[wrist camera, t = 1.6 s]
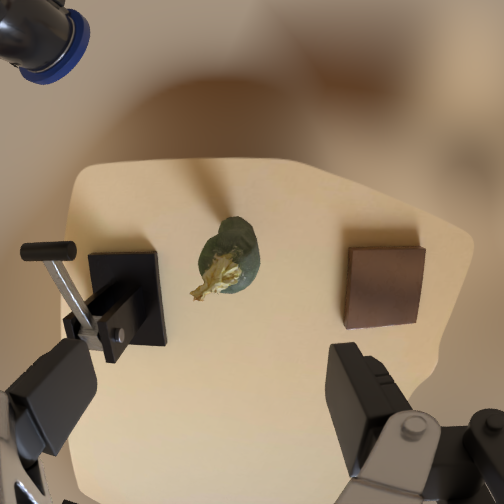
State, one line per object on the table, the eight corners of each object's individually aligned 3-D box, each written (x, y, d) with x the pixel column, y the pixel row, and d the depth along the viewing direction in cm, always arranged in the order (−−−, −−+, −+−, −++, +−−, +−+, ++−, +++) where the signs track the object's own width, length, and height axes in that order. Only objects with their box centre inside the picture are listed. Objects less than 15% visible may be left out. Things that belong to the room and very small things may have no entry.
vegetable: (257, 213, 36) (266, 253, 16) (256, 251, 37) (263, 331, 17) (217, 212, 36) (179, 252, 16) (217, 250, 37) (183, 329, 17)
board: (348, 247, 37) (352, 250, 35) (420, 246, 37) (426, 248, 35) (343, 324, 39) (346, 329, 37) (411, 318, 39) (416, 323, 37)
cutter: (91, 252, 37) (39, 280, 25) (157, 251, 37) (119, 281, 25) (106, 338, 39) (67, 386, 28) (167, 342, 39) (141, 396, 28)
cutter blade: (27, 235, 21) (14, 255, 19) (74, 232, 21) (62, 254, 19) (83, 329, 30) (77, 348, 28) (124, 332, 30) (119, 352, 28)
